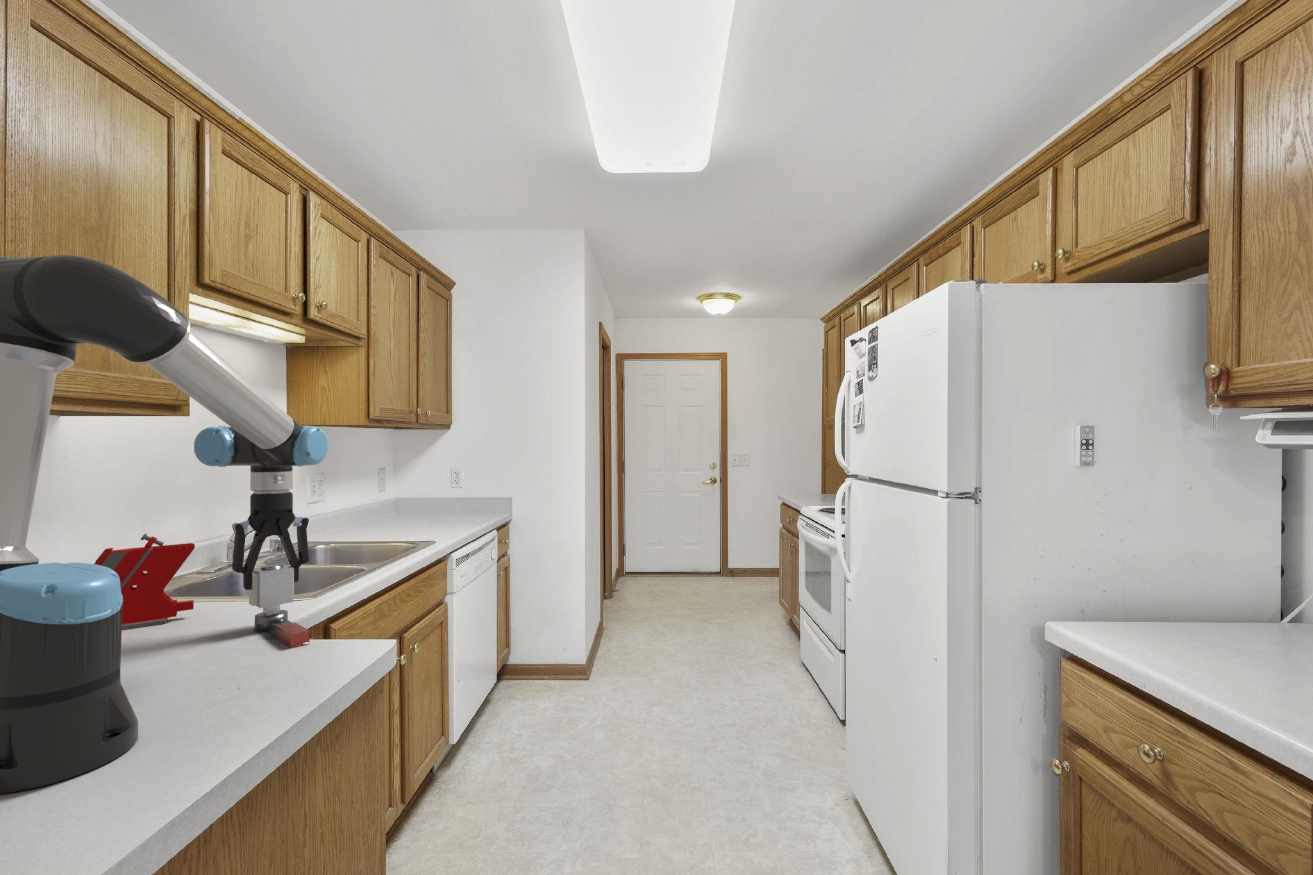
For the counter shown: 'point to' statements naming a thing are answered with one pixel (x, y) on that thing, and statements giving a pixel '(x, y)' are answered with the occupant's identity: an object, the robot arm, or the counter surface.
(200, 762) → the counter surface
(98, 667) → the robot arm
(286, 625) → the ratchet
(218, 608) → the counter surface
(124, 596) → the tool
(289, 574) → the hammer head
